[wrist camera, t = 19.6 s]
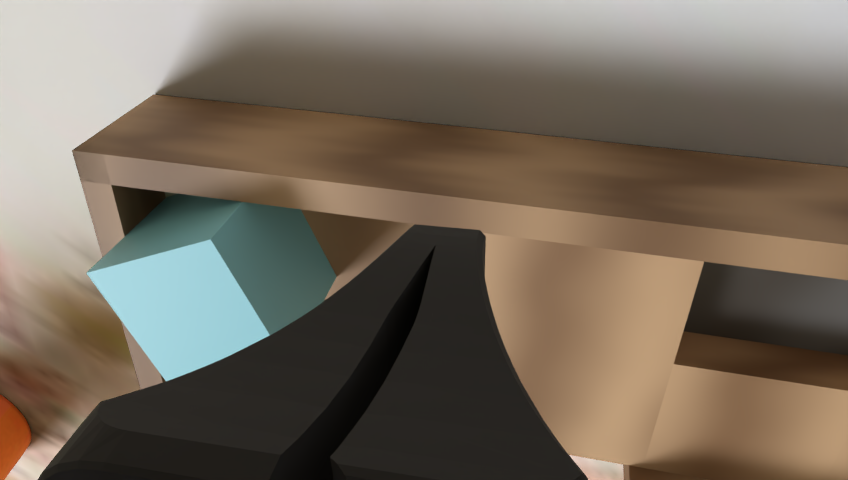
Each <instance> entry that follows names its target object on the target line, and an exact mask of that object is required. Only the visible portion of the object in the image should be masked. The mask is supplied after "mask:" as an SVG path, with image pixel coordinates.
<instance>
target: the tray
mask: <svg viewBox="0 0 848 480" xmlns="http://www.w3.org/2000/svg"><path fill="white" fill-rule="evenodd" d="M72 152H73V156H74V159H75V163H76V166H77V170H78V173H79V177H80V180H81V184H82V187H83V191H84V194H85V198H86V201H87V205H88V208H89V211H90V215H91V218H92V222H93V225H94V229H95V232H96V236H97V239H98V243H99V246H100V250H101V253H102V257H104V256H105V255H106V254H107V253H108V252H109V251H110V250H111V249H112V248H113V247H114V246H115V245H116V244H117V243H118V242H120V241H121V240H122V239H123V238H124V237H125V236H126V235H127V234H128V233H129V232H130V231H131V230H132V229H133V228H134V227H135V226H136V225H138V224H139V223H140V222H141V221H142V220H143V219H144V218H145V217H146V216H147V215H148V214H149V213H150V212H151V211H152V210H153V209H154V208H156V207H157V206H158V205H159V204H160V203H161V202H162V201H163V200H164V199H165V198H166V197H168V196H172V195H175V194H186V195H193V196H201V197H209V198H216V199H224V200H232V201H240V202H247V203H255V204H263V205H271V206H278V207H286V208H294V209H301V211H302V213H303V215H304V216H305V218H306V220H307V222H308V224H309V226H310V228H311V229H312V231H313V233H314V235H315V237H316V239H317V241H318V243H319V244H320V246H321V248H322V250H323V252H324V254H325V256H326V257H327V259H328V261H329V263H330V265H331V267H332V269H333V270H334V272H335V274H336V276H337V277H336V279H335V281H334V283H333V284H332V286H331V288H330V290H329V292H328V294H327V296H326V298H325V299H324V301H325V300H326V299H328V298H329V297H330V296H332V295H333V294H334V293H335V292H337V291H338V290H339V289H341V288H342V287H343V286H345V285H346V284H347V283H348V282H350V281H351V280H352V279H353V278H354V277H356V276H357V275H358V274H359V273H360V272H361V271H363V270H364V269H365V268H366V267H367V266H368V265H370V264H371V263H372V262H373V261H374V260H375V259H376V258H378V257H379V256H380V255H381V254H382V253H383V252H384V251H385V250H386V249H388V248H389V247H390V246H391V245H392V244H393V243H394V242H395V241H396V240H397V239H398V238H399V237H400V236H402V235H403V234H404V233H405V232H406V231H407V230H408V229H409V228H411V227H412V226H413V225H414V224H417V225H429V226H440V227H451V228H463V229H474V230H480V231H481V232H482V233H483V234H484V235H485V236H486V248H485V282H486V286H487V291H488V296H489V300H490V304H491V308H492V311H493V314H494V318H495V321H496V324H497V327H498V330H499V333H500V335H501V338H502V341H503V343H504V346H505V348H506V351H507V353H508V355H509V358H510V360H511V362H512V364H513V366H514V368H515V370H516V372H517V375H518V377H519V379H520V381H521V383H522V384H523V386H524V388H525V390H526V391H527V393H528V395H529V396H530V398H531V400H532V401H533V403H534V405H535V407H536V408H537V410H538V412H539V413H540V415H541V417H542V418H543V420H544V421H545V423H546V424H547V426H548V427H549V429H550V430H551V431H552V433H553V434H554V436H555V437H556V439H557V440H558V442H559V443H560V444H561V445H562V447H563V448H564V449H565V451H566V452H567V453H568V455H573V456H579V457H585V458H590V459H596V460H602V461H607V462H613V463H618V464H623V468H624V480H848V167H840V166H831V165H821V164H812V163H802V162H793V161H783V160H773V159H764V158H754V157H745V156H735V155H726V154H716V153H707V152H697V151H688V150H678V149H669V148H659V147H650V146H640V145H630V144H621V143H611V142H602V141H592V140H583V139H573V138H564V137H554V136H545V135H535V134H526V133H516V132H507V131H497V130H487V129H478V128H468V127H459V126H449V125H440V124H430V123H421V122H411V121H402V120H392V119H383V118H373V117H364V116H354V115H345V114H335V113H325V112H316V111H306V110H297V109H287V108H278V107H268V106H259V105H249V104H240V103H230V102H221V101H211V100H202V99H192V98H182V97H173V96H163V95H152V96H151V97H149V98H148V99H146V100H145V101H143V102H142V103H141V104H139V105H138V106H136V107H135V108H133V109H132V110H130V111H129V112H127V113H126V114H125V115H123V116H122V117H120V118H119V119H117V120H116V121H114V122H113V123H111V124H110V125H109V126H107V127H106V128H104V129H103V130H101V131H100V132H98V133H97V134H95V135H94V136H92V137H91V138H90V139H88V140H87V141H85V142H84V143H82V144H81V145H79V146H78V147H76V148H75V149H74V150H72ZM324 301H323V302H324ZM121 323H122V326H123V330H124V333H125V337H126V340H127V344H128V347H129V351H130V354H131V358H132V361H133V365H134V368H135V372H136V375H137V379H138V382H139V385H140V389H144V388H147V387H150V386H154V385H157V384H160V383H163V382H166V381H165V379H164V378H163V377H162V375H161V374H160V373H159V371H158V370H157V368H156V367H155V366H154V364H153V363H152V362H151V360H150V359H149V358H148V356H147V355H146V354H145V352H144V351H143V349H142V348H141V347H140V345H139V344H138V343H137V341H136V340H135V339H134V337H133V336H132V335H131V333H130V332H129V330H128V329H127V328H126V326H125V325H124V324H123V322H122V321H121Z"/></svg>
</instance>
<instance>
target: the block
mask: <svg viewBox="0 0 848 480" xmlns="http://www.w3.org/2000/svg"><path fill="white" fill-rule="evenodd" d="M87 275H88V276H89V277H90V279H91V280H92V282H93V283H94V284H95V286H96V287H97V288H98V290H99V291H100V292H101V294H102V295H103V296H104V298H105V299H106V301H107V302H108V303H109V305H110V306H111V307H112V309H113V310H114V311H115V313H116V314H117V315H118V317H119V318H120V320H121V321H122V322H123V324H124V325H125V326H126V328H127V329H128V330H129V332H130V333H131V335H132V336H133V337H134V339H135V340H136V341H137V343H138V344H139V345H140V347H141V348H142V349H143V351H144V352H145V354H146V355H147V356H148V358H149V359H150V360H151V362H152V363H153V364H154V366H155V367H156V368H157V370H158V371H159V373H160V374H161V375H162V377H163V378H164V379H165V381H168V380H171V379H174V378H177V377H179V376H182V375H185V374H187V373H190V372H192V371H195V370H197V369H200V368H202V367H205V366H207V365H209V364H212V363H214V362H216V361H219V360H221V359H223V358H226V357H228V356H230V355H232V354H234V353H236V352H238V351H240V350H242V349H244V348H246V347H248V346H250V345H252V344H254V343H256V342H258V341H260V340H262V339H264V338H266V337H267V336H269V335H271V334H273V333H275V332H277V331H279V330H280V329H282V328H284V327H285V326H287V325H289V324H290V323H292V322H293V321H295V320H297V319H298V318H300V317H302V316H303V315H305V314H306V313H308V312H309V311H311V310H312V309H314V308H315V307H317V306H318V305H320V304H321V303H322V302H323V301H324V299H325V298H326V296H327V294H328V292H329V290H330V288H331V286H332V284H333V283H334V281H335V279H336V277H337V276H336V274H335V272H334V270H333V269H332V267H331V265H330V263H329V261H328V259H327V257H326V256H325V254H324V252H323V250H322V248H321V246H320V244H319V243H318V241H317V239H316V237H315V235H314V233H313V231H312V229H311V228H310V226H309V224H308V222H307V220H306V218H305V216H304V215H303V213H302V211H301V209H294V208H286V207H278V206H271V205H263V204H255V203H247V202H240V201H232V200H224V199H216V198H209V197H201V196H193V195H186V194H175V195H172V196H168V197H166V198H165V199H164V200H163V201H162V202H161V203H160V204H159V205H158V206H157V207H156V208H154V209H153V210H152V211H151V212H150V213H149V214H148V215H147V216H146V217H145V218H144V219H143V220H142V221H141V222H140V223H139V224H138V225H136V226H135V227H134V228H133V229H132V230H131V231H130V232H129V233H128V234H127V235H126V236H125V237H124V238H123V239H122V240H121V241H120V242H118V243H117V244H116V245H115V246H114V247H113V248H112V249H111V250H110V251H109V252H108V253H107V254H106V255H105V256H104V257H103V258H102V259H100V260H99V261H98V262H97V263H96V264H95V265H94V266H93V267H92V268H91V269H90V270H89V271H88V272H87Z"/></svg>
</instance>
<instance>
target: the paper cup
mask: <svg viewBox="0 0 848 480" xmlns="http://www.w3.org/2000/svg"><path fill="white" fill-rule="evenodd" d="M30 442H31V430H30V427H29V424H28V422H27V421H26V419H25V418H24V416H23V415H22V413H21V412H20V411H19V410H18V409H17V408H16V407H15V406H14V405H13V404H12V403H11V402H10V401H9V400H7V399H6V398H5V397H3V396H2V395H0V480H4V479H5V478H6V477H7V475H8V474H9V472H10V471H11V470H12V468H13V467H14V466H15V464H16V463H17V462H18V460H19V459H20V458H21V456H22V455H23V453H24V452H25V450H26V449H27V447H28V446H29V444H30Z"/></svg>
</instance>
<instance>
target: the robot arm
mask: <svg viewBox="0 0 848 480" xmlns="http://www.w3.org/2000/svg"><path fill="white" fill-rule="evenodd" d="M485 248H486V236H485V235H484V234H483V233H482V232H481V231H480V230H474V229H463V228H451V227H440V226H429V225H417V224H414V225H413V226H412V227H411V228H409V229H408V230H407V231H406V232H405V233H404V234H403V235H402V236H400V237H399V238H398V239H397V240H396V241H395V242H394V243H393V244H392V245H391V246H390V247H389V248H388V249H386V250H385V251H384V252H383V253H382V254H381V255H380V256H379V257H378V258H376V259H375V260H374V261H373V262H372V263H371V264H370V265H368V266H367V267H366V268H365V269H364V270H363V271H361V272H360V273H359V274H358V275H357V276H356V277H354V278H353V279H352V280H351V281H350V282H348V283H347V284H346V285H345V286H343V287H342V288H341V289H339V290H338V291H337V292H335V293H334V294H333V295H332V296H330V297H329V298H328V299H326V300H325V301H324V302H322V303H321V304H320V305H318V306H317V307H315V308H314V309H312V310H311V311H309V312H308V313H306V314H305V315H303V316H302V317H300V318H298V319H297V320H295V321H293V322H292V323H290V324H289V325H287V326H285V327H284V328H282V329H280V330H279V331H277V332H275V333H273V334H271V335H269V336H267V337H266V338H264V339H262V340H260V341H258V342H256V343H254V344H252V345H250V346H248V347H246V348H244V349H242V350H240V351H238V352H236V353H234V354H232V355H230V356H228V357H226V358H223V359H221V360H219V361H216V362H214V363H212V364H209V365H207V366H205V367H202V368H200V369H197V370H195V371H192V372H190V373H187V374H185V375H182V376H179V377H177V378H174V379H171V380H168V381H166V382H163V383H160V384H157V385H154V386H150V387H147V388H144V389H141V390H138V391H135V392H131V393H128V394H125V395H122V396H119V397H116V398H112V399H109V400H105V401H101V402H100V403H99V404H98V405H97V406H96V408H95V409H94V410H93V411H92V412H91V413H90V414H89V416H88V417H87V418H86V419H85V420H84V422H83V423H82V424H81V425H80V426H79V428H78V429H77V430H76V431H75V433H74V434H73V435H72V436H71V438H70V439H69V440H68V441H67V442H66V444H65V445H64V446H63V447H62V449H61V450H60V451H59V452H58V454H57V455H56V456H55V457H54V459H53V460H52V461H51V462H50V464H49V465H48V466H47V467H46V469H45V470H44V471H43V472H42V474H41V475H40V477H39V479H38V480H588V478H587V477H586V475H585V474H584V473H583V472H582V471H581V469H580V468H579V467H578V466H577V465H576V463H575V462H574V461H573V460H572V458H571V457H570V456H569V455H568V453H567V452H566V451H565V449H564V448H563V447H562V445H561V444H560V443H559V442H558V440H557V439H556V437H555V436H554V434H553V433H552V431H551V430H550V429H549V427H548V426H547V424H546V423H545V421H544V420H543V418H542V417H541V415H540V413H539V412H538V410H537V408H536V407H535V405H534V403H533V401H532V400H531V398H530V396H529V395H528V393H527V391H526V390H525V388H524V386H523V384H522V383H521V381H520V379H519V377H518V375H517V372H516V370H515V368H514V366H513V364H512V362H511V360H510V358H509V355H508V353H507V351H506V348H505V346H504V343H503V341H502V338H501V335H500V333H499V330H498V327H497V324H496V321H495V318H494V314H493V311H492V308H491V304H490V300H489V296H488V291H487V286H486V282H485Z"/></svg>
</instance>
